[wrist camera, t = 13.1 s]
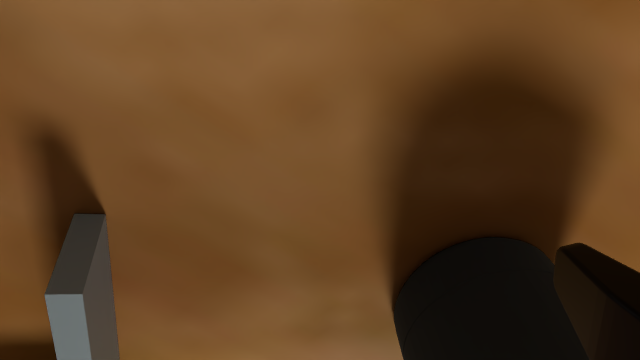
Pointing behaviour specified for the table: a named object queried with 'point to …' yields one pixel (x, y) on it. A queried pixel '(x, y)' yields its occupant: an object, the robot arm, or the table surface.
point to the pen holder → (485, 306)
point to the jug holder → (83, 294)
